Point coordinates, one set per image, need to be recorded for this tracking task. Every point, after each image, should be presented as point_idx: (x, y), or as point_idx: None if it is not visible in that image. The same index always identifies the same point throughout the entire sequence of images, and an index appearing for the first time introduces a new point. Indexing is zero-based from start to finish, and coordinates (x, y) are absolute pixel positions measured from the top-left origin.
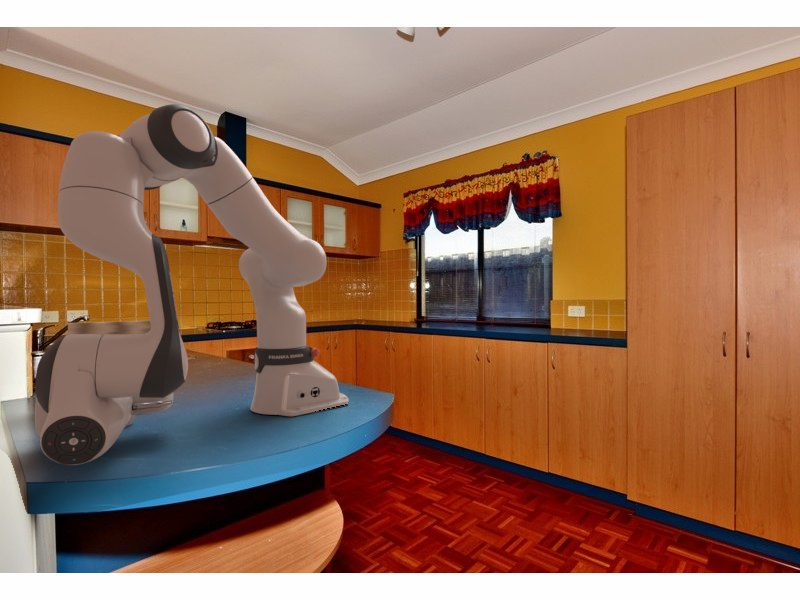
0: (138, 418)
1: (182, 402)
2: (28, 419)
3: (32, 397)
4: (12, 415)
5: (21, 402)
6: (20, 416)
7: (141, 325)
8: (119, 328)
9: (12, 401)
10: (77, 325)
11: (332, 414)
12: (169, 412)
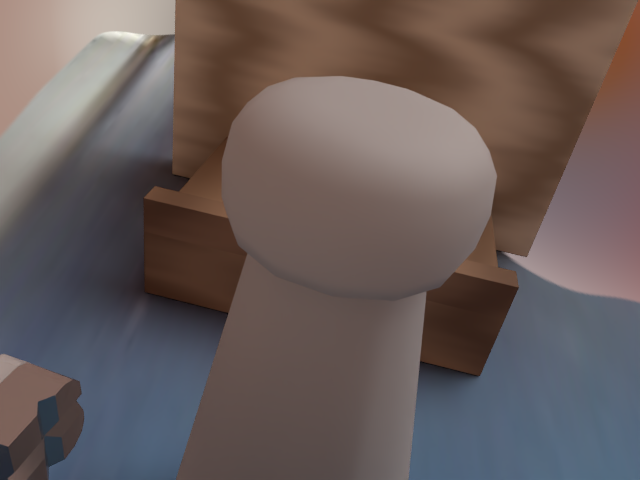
0: None
1: (598, 329)
2: (27, 178)
3: (151, 45)
4: (25, 122)
5: (112, 58)
6: (33, 141)
7: None
8: None
9: (101, 45)
10: None
11: None
12: (567, 466)
